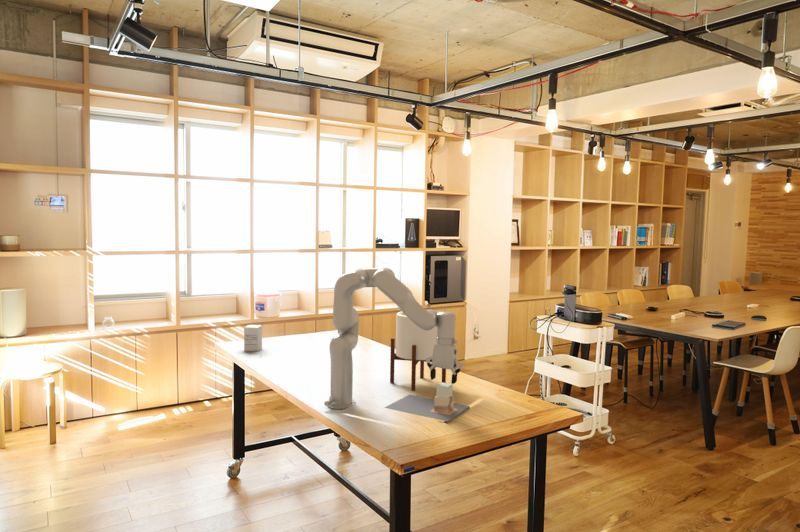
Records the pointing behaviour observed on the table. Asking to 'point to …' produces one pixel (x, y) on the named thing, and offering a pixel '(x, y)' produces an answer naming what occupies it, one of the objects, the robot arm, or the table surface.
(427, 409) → the board
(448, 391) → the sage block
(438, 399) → the maple block
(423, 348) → the plant pot with stand
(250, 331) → the supplement box
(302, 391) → the table surface
